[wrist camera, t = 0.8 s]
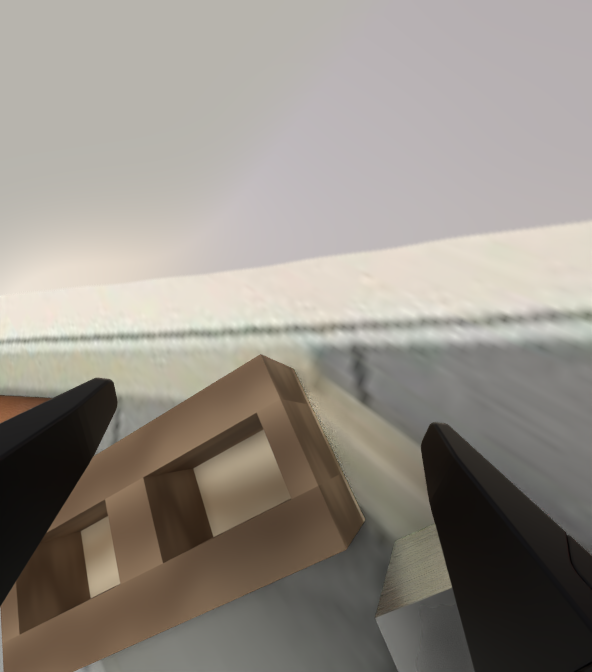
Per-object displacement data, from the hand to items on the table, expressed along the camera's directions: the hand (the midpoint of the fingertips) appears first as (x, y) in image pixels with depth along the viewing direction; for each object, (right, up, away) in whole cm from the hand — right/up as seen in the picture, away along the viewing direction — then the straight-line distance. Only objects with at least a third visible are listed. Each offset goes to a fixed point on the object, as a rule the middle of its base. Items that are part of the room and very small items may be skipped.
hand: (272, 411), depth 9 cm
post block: (-7, -10, +13) cm, 18 cm away
